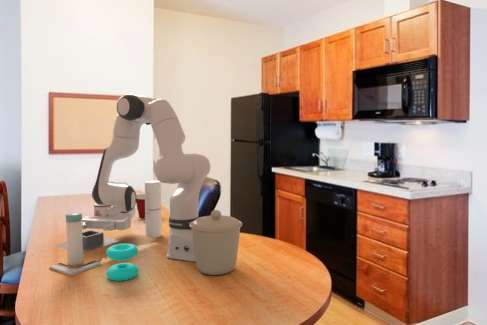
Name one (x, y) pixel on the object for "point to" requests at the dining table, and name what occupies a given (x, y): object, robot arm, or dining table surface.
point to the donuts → (122, 269)
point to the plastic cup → (141, 205)
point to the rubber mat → (73, 270)
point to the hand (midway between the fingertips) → (93, 227)
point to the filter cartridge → (74, 238)
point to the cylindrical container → (153, 208)
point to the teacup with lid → (100, 209)
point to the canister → (216, 243)
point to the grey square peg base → (93, 240)
